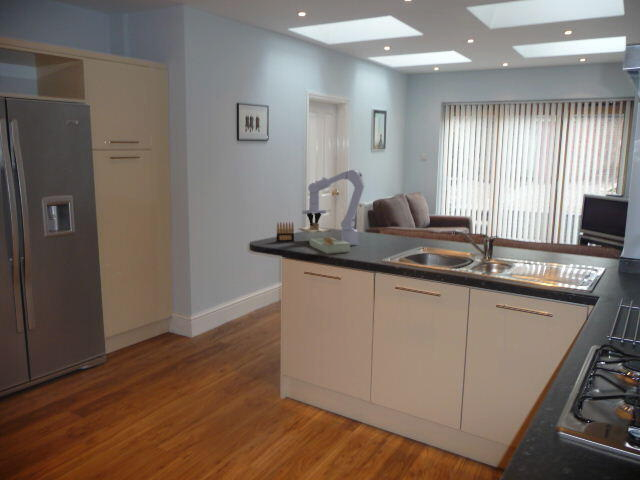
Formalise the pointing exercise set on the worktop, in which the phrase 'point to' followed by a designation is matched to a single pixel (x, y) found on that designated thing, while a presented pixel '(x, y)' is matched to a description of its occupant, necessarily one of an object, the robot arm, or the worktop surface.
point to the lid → (314, 229)
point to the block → (328, 241)
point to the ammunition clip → (285, 233)
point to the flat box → (330, 246)
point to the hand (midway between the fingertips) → (313, 225)
